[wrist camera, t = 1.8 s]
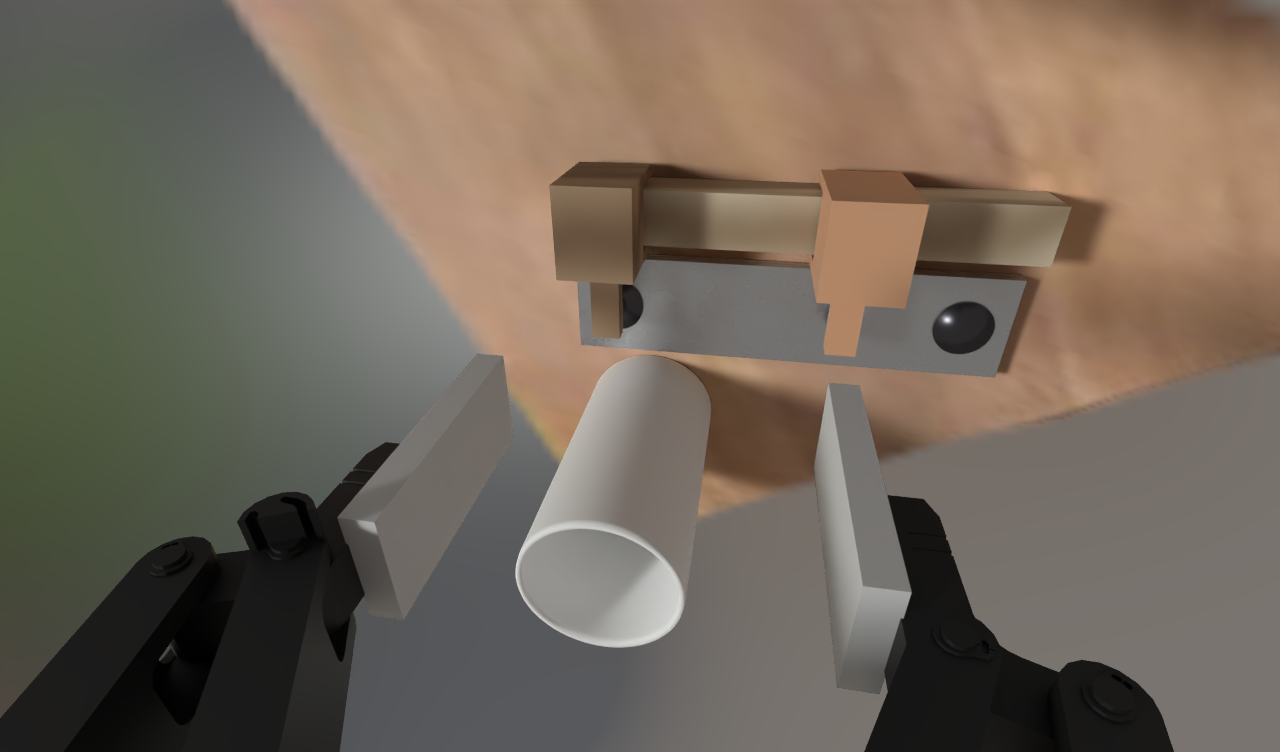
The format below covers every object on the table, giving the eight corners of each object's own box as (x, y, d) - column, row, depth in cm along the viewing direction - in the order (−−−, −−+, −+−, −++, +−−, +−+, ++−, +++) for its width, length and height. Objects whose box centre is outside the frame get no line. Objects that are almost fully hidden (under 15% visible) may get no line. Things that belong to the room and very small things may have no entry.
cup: (716, 361, 40) (690, 539, 26) (706, 461, 44) (679, 660, 31) (592, 348, 41) (507, 513, 27) (594, 447, 45) (521, 633, 32)
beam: (575, 174, 35) (561, 186, 33) (1047, 191, 32) (1071, 206, 29) (578, 226, 37) (565, 241, 34) (1029, 248, 33) (1051, 267, 31)
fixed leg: (579, 161, 34) (549, 185, 29) (650, 164, 34) (631, 188, 29) (587, 310, 39) (562, 351, 34) (650, 315, 38) (633, 357, 33)
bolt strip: (580, 250, 38) (575, 256, 37) (1020, 274, 34) (1027, 282, 33) (584, 337, 41) (580, 345, 40) (989, 369, 37) (995, 378, 36)
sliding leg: (821, 169, 32) (832, 200, 27) (901, 172, 32) (929, 204, 26) (799, 325, 37) (804, 379, 31) (869, 330, 36) (887, 386, 31)
